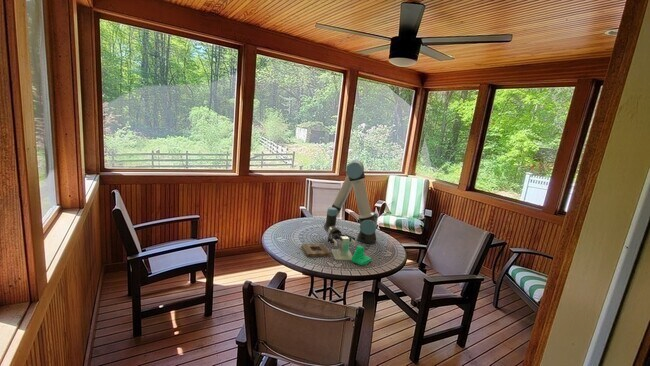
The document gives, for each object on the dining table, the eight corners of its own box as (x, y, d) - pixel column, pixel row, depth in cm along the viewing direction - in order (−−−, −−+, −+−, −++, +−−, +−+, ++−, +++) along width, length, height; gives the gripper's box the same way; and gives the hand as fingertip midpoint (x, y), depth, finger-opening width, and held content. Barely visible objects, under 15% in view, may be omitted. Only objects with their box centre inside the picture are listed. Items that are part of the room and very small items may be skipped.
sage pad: (349, 250, 213) (349, 249, 213) (354, 260, 198) (354, 259, 198) (331, 249, 211) (331, 249, 211) (335, 259, 196) (335, 259, 196)
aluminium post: (344, 252, 208) (346, 236, 206) (347, 255, 203) (349, 238, 201) (337, 252, 206) (339, 236, 204) (340, 255, 201) (342, 238, 199)
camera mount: (360, 266, 190) (362, 251, 188) (351, 262, 195) (353, 247, 193) (371, 262, 199) (373, 247, 197) (362, 257, 204) (364, 243, 202)
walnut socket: (322, 246, 215) (323, 243, 215) (330, 256, 201) (330, 253, 200) (301, 246, 210) (301, 244, 210) (307, 256, 195) (307, 253, 195)
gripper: (349, 237, 225) (362, 249, 205) (317, 237, 216) (327, 250, 196) (351, 227, 223) (363, 238, 204) (319, 227, 215) (329, 239, 195)
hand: (346, 244), depth 200 cm, fingers open, 13 cm apart
